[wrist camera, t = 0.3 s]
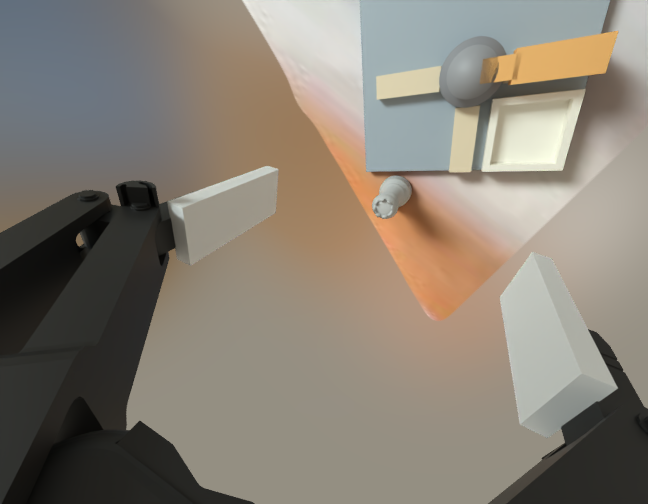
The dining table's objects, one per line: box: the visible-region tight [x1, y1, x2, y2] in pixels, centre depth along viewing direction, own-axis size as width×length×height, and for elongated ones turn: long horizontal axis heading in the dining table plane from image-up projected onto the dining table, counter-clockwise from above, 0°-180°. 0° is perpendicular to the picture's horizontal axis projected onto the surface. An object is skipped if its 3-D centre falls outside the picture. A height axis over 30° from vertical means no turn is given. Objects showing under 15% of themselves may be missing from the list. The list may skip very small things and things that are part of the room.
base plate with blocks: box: [360, 0, 610, 172], centre depth 29 cm, size 20×22×4 cm
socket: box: [481, 89, 586, 172], centre depth 29 cm, size 7×7×2 cm
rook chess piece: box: [372, 176, 412, 219], centre depth 36 cm, size 4×4×8 cm
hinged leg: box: [447, 31, 618, 100], centre depth 25 cm, size 12×4×2 cm, turn 97°
